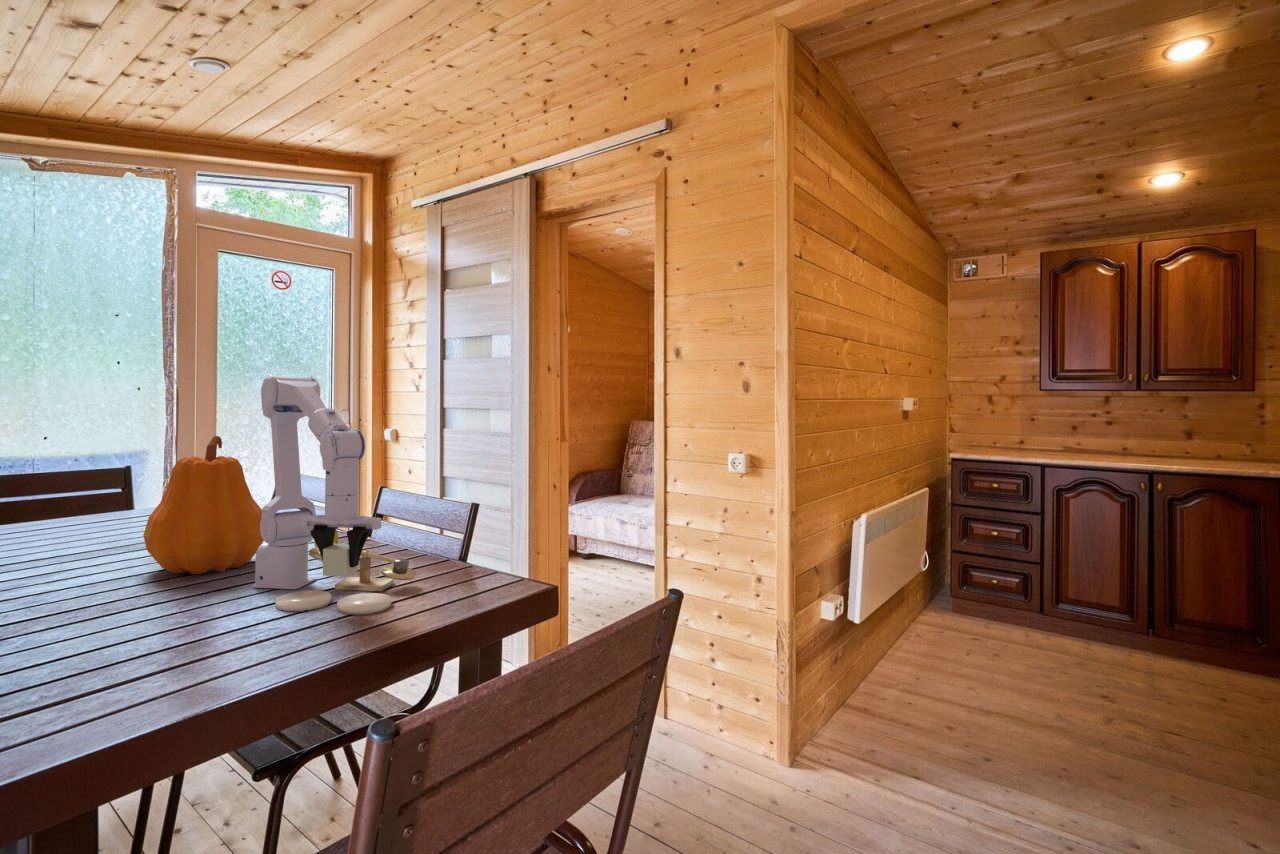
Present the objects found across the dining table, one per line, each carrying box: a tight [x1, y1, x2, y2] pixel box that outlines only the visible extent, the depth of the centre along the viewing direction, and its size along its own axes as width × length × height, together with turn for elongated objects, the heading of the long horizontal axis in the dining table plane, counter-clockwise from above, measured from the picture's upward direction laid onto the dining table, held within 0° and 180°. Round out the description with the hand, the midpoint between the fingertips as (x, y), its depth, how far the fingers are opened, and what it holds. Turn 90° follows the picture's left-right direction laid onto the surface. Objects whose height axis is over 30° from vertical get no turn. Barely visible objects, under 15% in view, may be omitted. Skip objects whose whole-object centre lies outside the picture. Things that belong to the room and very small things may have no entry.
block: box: [322, 543, 359, 578], centre depth 125 cm, size 4×4×5 cm
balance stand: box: [334, 556, 395, 592], centre depth 141 cm, size 10×6×6 cm, turn 88°
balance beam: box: [308, 543, 417, 581], centre depth 141 cm, size 23×7×3 cm, turn 88°
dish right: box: [336, 592, 392, 616], centre depth 128 cm, size 10×10×1 cm
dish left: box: [275, 589, 332, 612], centre depth 128 cm, size 10×10×1 cm
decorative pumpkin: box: [143, 435, 265, 575], centre depth 151 cm, size 24×24×30 cm
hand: (340, 565), depth 125 cm, fingers closed on block, 4 cm apart
